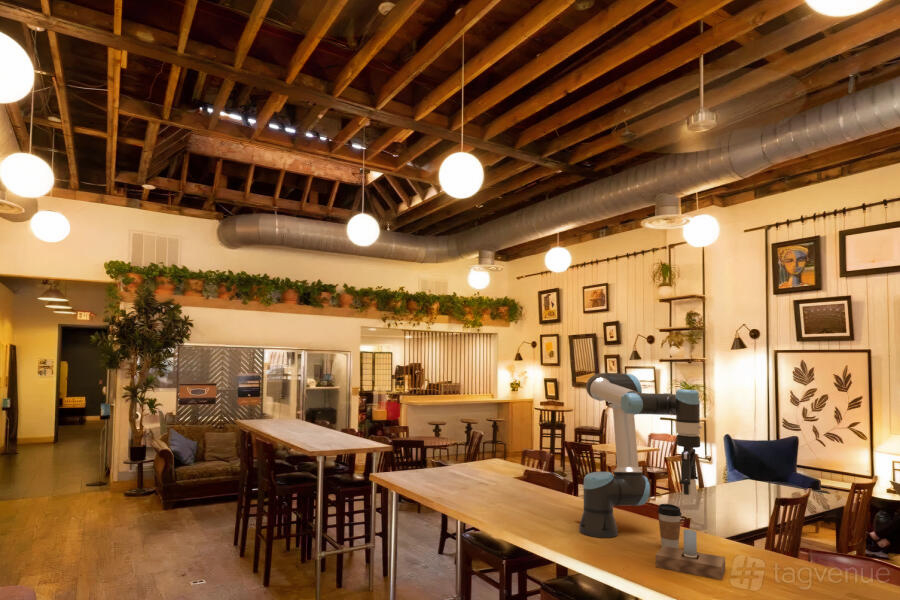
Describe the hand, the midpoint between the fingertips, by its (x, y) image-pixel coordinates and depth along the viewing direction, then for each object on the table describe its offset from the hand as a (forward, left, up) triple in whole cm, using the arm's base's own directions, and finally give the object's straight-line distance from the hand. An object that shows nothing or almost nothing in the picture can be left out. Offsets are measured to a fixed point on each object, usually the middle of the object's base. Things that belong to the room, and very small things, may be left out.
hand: (689, 501), depth 191 cm
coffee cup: (-10, +20, -22) cm, 31 cm away
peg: (0, 0, -22) cm, 22 cm away
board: (0, 0, -22) cm, 22 cm away
